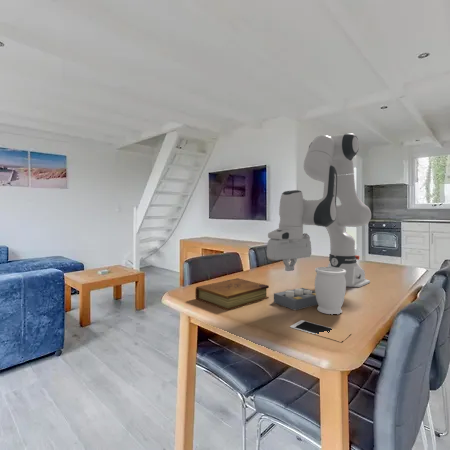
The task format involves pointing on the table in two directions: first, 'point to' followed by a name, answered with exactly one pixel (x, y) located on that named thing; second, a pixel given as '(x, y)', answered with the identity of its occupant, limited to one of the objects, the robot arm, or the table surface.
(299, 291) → the button mid
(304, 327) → the cell phone
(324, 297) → the jar
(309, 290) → the button
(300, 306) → the board
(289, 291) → the button
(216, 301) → the diary
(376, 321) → the table surface
